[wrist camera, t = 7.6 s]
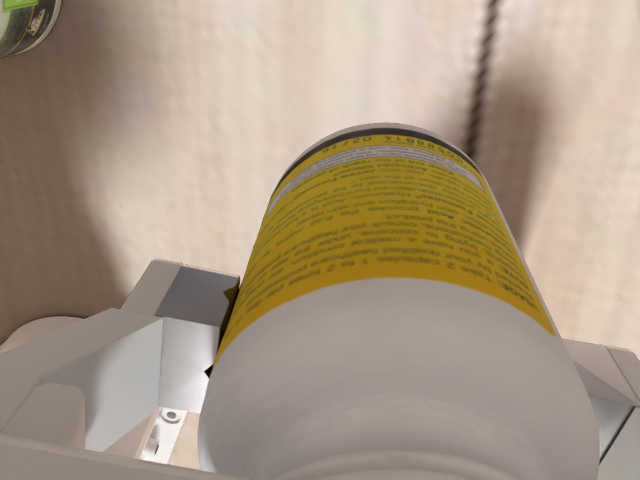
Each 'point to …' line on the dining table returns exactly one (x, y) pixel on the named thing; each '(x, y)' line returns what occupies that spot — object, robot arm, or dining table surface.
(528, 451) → the supplement bottle
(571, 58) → the dining table surface
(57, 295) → the dining table surface
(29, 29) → the coffee can
